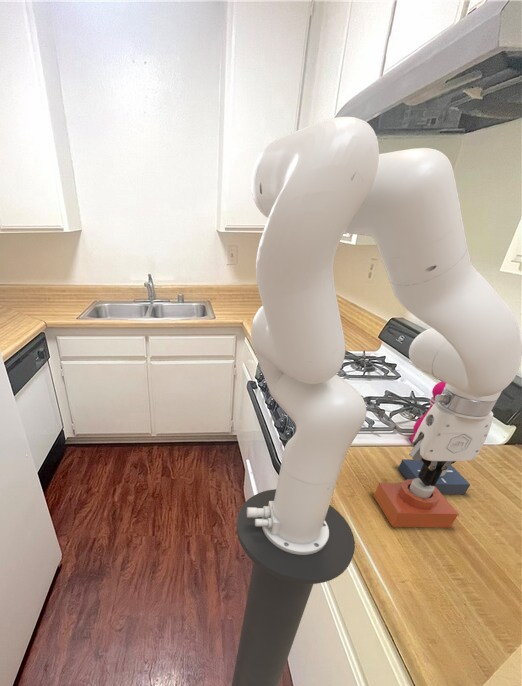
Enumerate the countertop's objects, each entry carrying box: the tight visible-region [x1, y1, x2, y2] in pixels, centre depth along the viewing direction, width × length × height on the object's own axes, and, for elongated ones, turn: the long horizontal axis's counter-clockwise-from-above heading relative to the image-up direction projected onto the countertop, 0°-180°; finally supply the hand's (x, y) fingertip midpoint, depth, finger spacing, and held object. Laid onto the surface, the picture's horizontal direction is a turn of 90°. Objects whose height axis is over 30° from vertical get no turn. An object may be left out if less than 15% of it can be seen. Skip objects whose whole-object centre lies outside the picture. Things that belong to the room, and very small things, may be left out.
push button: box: [409, 478, 434, 498], centre depth 71 cm, size 4×4×2 cm
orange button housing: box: [373, 479, 459, 529], centre depth 73 cm, size 12×9×6 cm
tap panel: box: [398, 458, 471, 495], centre depth 82 cm, size 11×9×3 cm
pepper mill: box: [410, 381, 446, 443], centre depth 91 cm, size 7×7×20 cm
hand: (425, 481), depth 70 cm, fingers closed
